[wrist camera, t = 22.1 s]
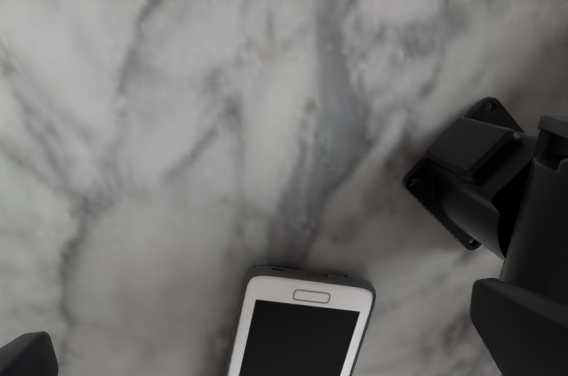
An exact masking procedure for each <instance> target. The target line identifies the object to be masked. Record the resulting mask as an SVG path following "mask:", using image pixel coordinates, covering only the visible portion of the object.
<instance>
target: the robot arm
mask: <svg viewBox="0 0 568 376" xmlns="http://www.w3.org/2000/svg"><path fill="white" fill-rule="evenodd" d="M489 103H490V104H491V108H490V109H489V110H488V111H487V109H486V107H487V105H488V104H489ZM538 128H539V129H540V132H539V136H538V137H537V136H533V135H529V134H525V132H524V131H523V130H522V129H521V127H520V126H519V125H518V124H517V123H516V121H515V120H514V119H513V118H512V116H511V115H510V114H509V113H508V112H507V110H506V109H505V108H504V107H503V105H502V104H501V103H500V102H499V101H498V100H497V99H496V98H491V97H485V98H483V99H482V100H480V101H479V102H478V103H477V104H476V105H475V106H474V107H473V108H472V109H471V110H470V111H469V112H468V113H467V114H466V115H465V116H464V117H463V118H459V119H458V120H457V121H456V122H455V123H454V124H453V125H452V126H451V127H450V128H449V129H448V130H447V131H446V132H445V133H444V134H443V135H442V136H441V137H440V138H439V139H438V140H437V141H436V142H435V143H434V144H433V145H432V146H431V147H430V148H429V149H428V150H427V152H426V156H425V157H424V158H423V159H422V160H421V161H420V162H419V163H418V164H417V165H416V166H415V167H414V168H413V169H412V170H411V171H410V172H409V173H408V174H407V175H406V176H405V177H404V178H403V186H404V188H405V189H406V190H407V191H408V192H409V193H410V194H411V195H412V196H413V197H414V198H415V199H416V200H417V201H418V202H419V203H420V204H421V205H422V206H423V207H424V208H425V209H427V210H428V211H429V212H430V213H431V214H432V215H433V216H434V217H435V218H436V219H437V220H438V221H439V222H440V223H441V224H442V225H443V226H444V227H445V228H446V229H447V230H448V231H449V232H450V233H451V234H452V235H453V236H454V237H455V238H456V239H457V240H458V241H459V242H460V243H461V244H462V245H463V246H464V247H466V248H467V249H468V250H475V249H477V248H478V247H479V246H481V245H484V246H485V247H486V248H488V249H489V250H490V251H492V252H493V253H494V254H496V255H497V256H498V257H500V258H501V259H503V260H504V264H503V268H502V271H501V275H500V279H499V280H498V279H495V278H488V279H480V280H476V281H475V282H474V284H473V288H472V296H471V305H470V317H471V320H472V323H473V325H474V327H475V328H476V330H477V332H478V333H479V335H480V337H481V339H482V340H483V342H484V344H485V346H486V347H487V349H488V351H489V353H490V354H491V356H492V358H493V360H494V361H495V363H496V365H497V366H498V368H499V370H500V372H501V373H502V375H503V376H568V116H554V115H541V118H540V121H539V125H538ZM413 179H415V180H416V181H415V184H414V185H412V186H410V182H411V180H413ZM472 239H473V242H472V243H469V242H470V240H472ZM0 376H58V362H57V358H56V355H55V351H54V348H53V344H52V341H51V338H50V335H49V334H48V333H47V332H45V331H42V332H33V333H26V334H23V335H21V336H19V337H18V338H16V339H15V340H13V341H11V342H10V343H8V344H7V345H5V346H3V347H2V348H0Z"/></svg>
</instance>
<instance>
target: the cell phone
mask: <svg viewBox="0 0 568 376" xmlns="http://www.w3.org/2000/svg"><path fill="white" fill-rule="evenodd" d="M375 299H376V291H375V289H374V287H373V285H372V284H371V283H370V282H369V281H367V280H364V279H361V278H355V277H349V276H347V277H346V278H345V277H340V275H333V274H326V275H325V277H322V276H314V275H307V274H306V271H303V270H296V269H288V268H281V267H273V266H255V267H252V268H250V270H249V271H248V272H247V274H246V277H245V280H244V282H243V286H242V291H241V295H240V300H239V305H238V309H237V314H236V319H235V323H234V328H233V333H232V338H231V342H230V347H229V352H228V356H227V361H226V366H225V370H224V375H223V376H352V374H353V370H354V367H355V364H356V361H357V358H358V355H359V352H360V349H361V346H362V343H363V339H364V336H365V333H366V330H367V327H368V324H369V321H370V318H371V315H372V312H373V308H374V304H375Z"/></svg>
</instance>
